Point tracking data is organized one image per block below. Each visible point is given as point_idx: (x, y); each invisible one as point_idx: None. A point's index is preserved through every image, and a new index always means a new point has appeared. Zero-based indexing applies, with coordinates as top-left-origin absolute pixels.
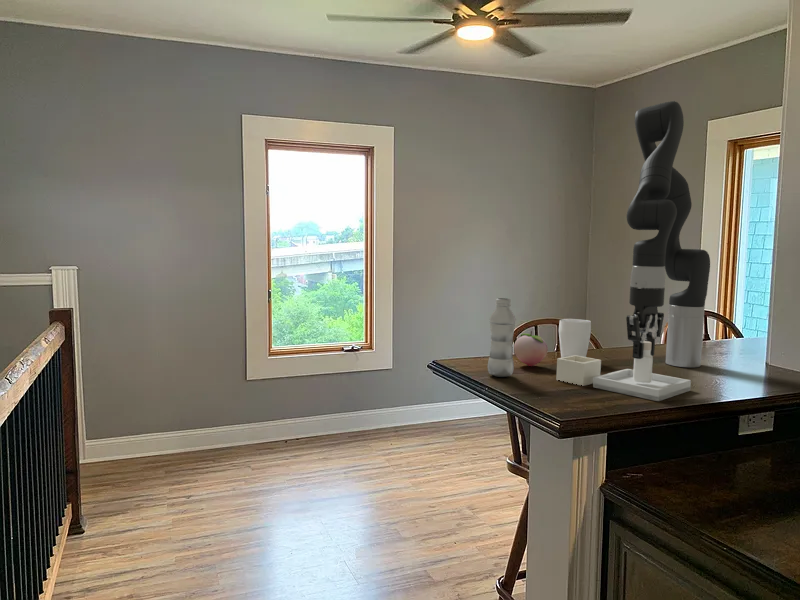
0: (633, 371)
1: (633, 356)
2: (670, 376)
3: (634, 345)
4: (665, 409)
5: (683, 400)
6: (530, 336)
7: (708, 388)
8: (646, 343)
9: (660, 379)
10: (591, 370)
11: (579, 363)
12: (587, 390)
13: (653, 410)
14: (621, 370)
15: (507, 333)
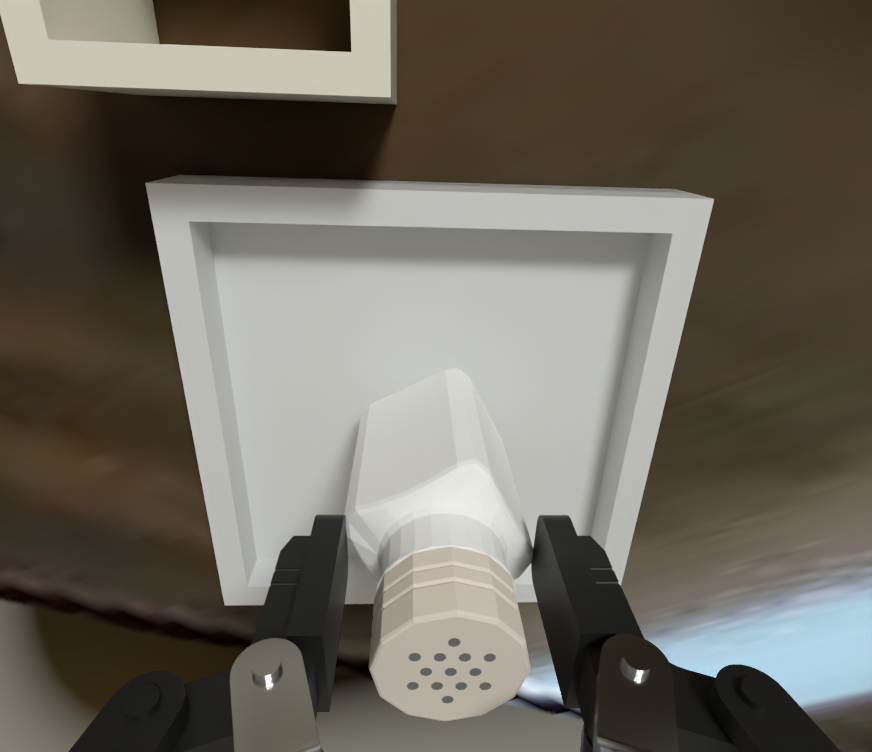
0: (412, 407)
1: (314, 523)
2: (639, 507)
3: (261, 633)
4: (143, 623)
5: (369, 606)
6: None
7: (714, 583)
8: (393, 703)
9: (613, 449)
10: (223, 94)
11: (6, 11)
12: (63, 199)
13: (75, 605)
14: (595, 205)
15: None
